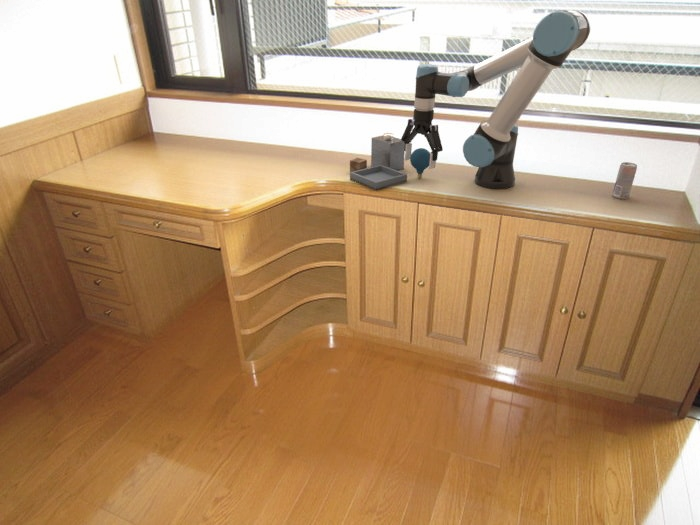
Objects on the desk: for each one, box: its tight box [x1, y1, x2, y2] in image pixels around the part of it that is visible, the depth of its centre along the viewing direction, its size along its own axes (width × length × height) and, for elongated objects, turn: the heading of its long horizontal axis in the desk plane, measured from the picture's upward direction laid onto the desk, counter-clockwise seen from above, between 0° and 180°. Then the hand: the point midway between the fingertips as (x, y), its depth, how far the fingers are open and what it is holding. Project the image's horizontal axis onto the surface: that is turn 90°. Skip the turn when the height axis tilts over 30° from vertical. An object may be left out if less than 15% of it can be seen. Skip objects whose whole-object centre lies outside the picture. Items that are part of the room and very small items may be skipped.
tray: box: [349, 165, 408, 191], centre depth 193 cm, size 16×16×3 cm
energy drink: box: [612, 161, 638, 200], centre depth 174 cm, size 5×5×12 cm
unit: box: [370, 132, 405, 171], centre depth 206 cm, size 12×8×14 cm, turn 38°
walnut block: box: [349, 157, 368, 173], centre depth 203 cm, size 5×5×5 cm
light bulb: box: [409, 147, 430, 179], centre depth 193 cm, size 8×8×12 cm
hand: (419, 164), depth 194 cm, fingers open, 13 cm apart
